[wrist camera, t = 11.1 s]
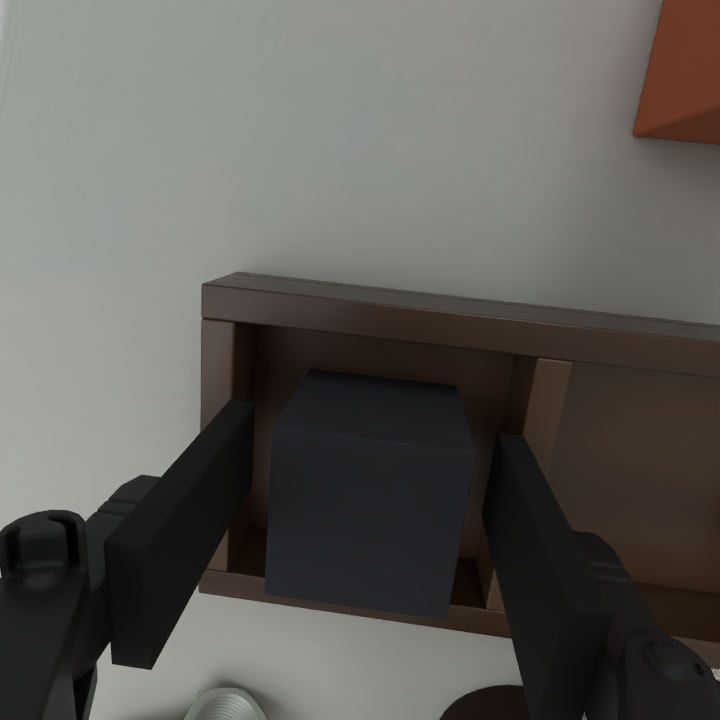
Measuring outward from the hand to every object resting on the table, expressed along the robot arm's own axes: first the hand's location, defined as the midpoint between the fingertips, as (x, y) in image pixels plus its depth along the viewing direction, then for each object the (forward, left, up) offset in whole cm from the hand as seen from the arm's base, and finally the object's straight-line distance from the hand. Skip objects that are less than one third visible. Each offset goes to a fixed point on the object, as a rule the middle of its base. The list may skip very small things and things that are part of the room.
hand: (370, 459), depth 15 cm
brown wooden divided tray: (+1, +5, -3) cm, 6 cm away
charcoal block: (+1, 0, -3) cm, 3 cm away
